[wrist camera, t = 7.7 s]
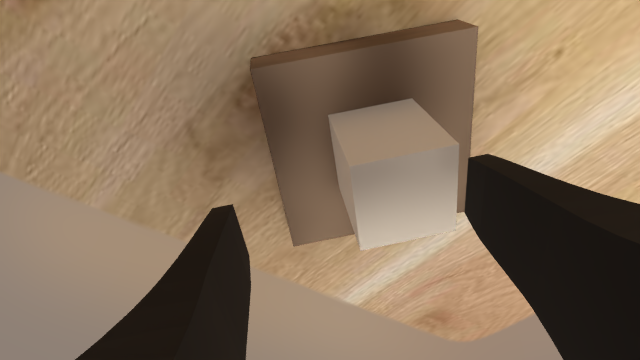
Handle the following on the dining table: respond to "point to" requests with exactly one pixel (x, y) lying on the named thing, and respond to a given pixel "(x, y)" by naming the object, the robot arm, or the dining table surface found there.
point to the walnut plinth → (355, 93)
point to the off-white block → (395, 173)
